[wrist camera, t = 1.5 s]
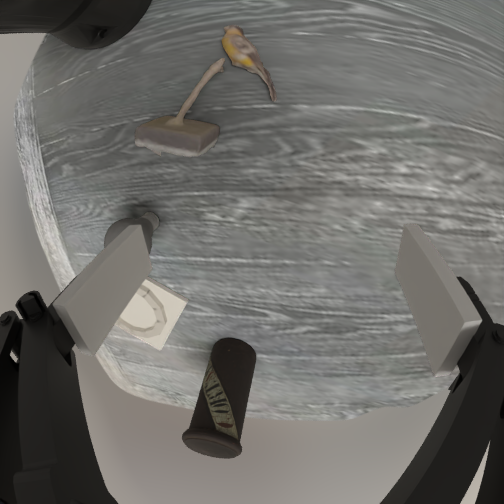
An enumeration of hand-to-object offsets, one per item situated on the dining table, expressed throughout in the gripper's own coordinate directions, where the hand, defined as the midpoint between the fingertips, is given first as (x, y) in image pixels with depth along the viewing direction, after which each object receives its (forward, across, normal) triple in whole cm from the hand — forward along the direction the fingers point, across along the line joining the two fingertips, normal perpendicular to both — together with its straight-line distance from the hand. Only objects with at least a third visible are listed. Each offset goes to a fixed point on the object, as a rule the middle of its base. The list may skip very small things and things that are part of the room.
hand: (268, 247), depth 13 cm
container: (+21, -9, -34) cm, 41 cm away
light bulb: (+21, -18, -7) cm, 29 cm away
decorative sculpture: (+21, -6, +8) cm, 24 cm away
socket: (+21, -27, -24) cm, 41 cm away
